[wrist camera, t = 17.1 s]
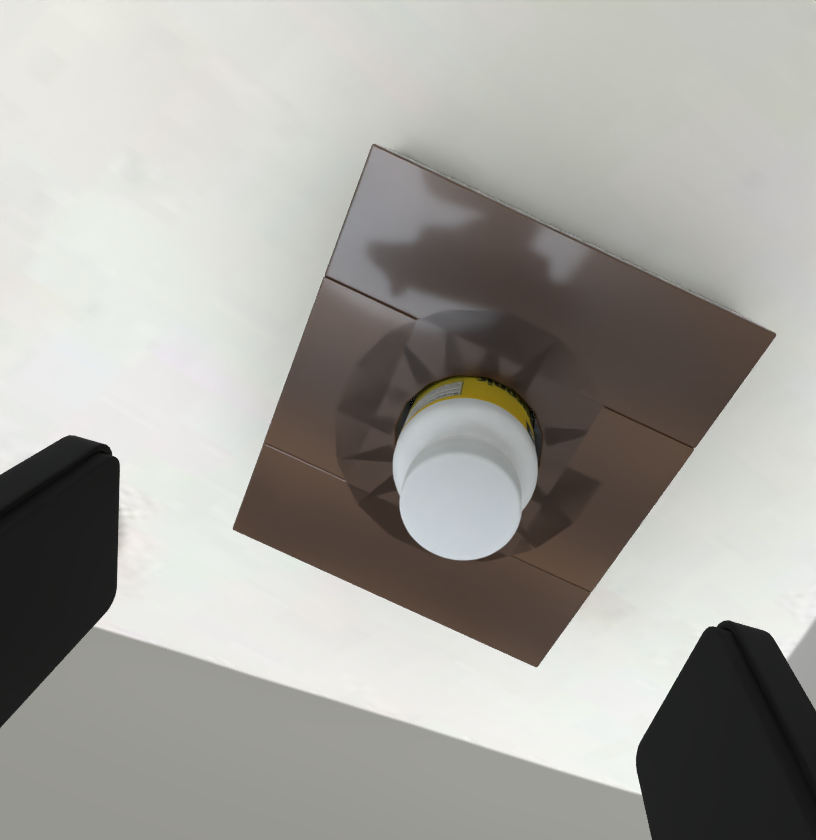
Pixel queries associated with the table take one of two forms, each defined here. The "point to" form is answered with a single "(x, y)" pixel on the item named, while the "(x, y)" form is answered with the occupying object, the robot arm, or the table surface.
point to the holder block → (504, 363)
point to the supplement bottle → (465, 466)
